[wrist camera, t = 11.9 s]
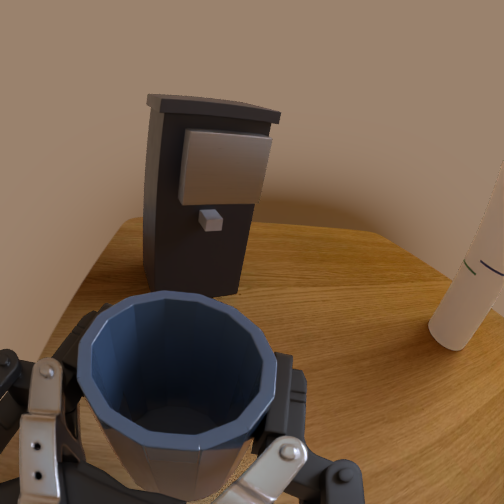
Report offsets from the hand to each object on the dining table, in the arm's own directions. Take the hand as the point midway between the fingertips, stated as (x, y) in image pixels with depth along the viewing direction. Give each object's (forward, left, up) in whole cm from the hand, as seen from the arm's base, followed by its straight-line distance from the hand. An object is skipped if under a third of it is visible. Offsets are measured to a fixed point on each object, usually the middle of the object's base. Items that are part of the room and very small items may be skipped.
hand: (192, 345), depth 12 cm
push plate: (+11, +11, 0) cm, 16 cm away
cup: (-2, -1, -7) cm, 7 cm away
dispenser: (+13, +18, -13) cm, 25 cm away
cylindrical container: (+35, -12, -13) cm, 39 cm away
